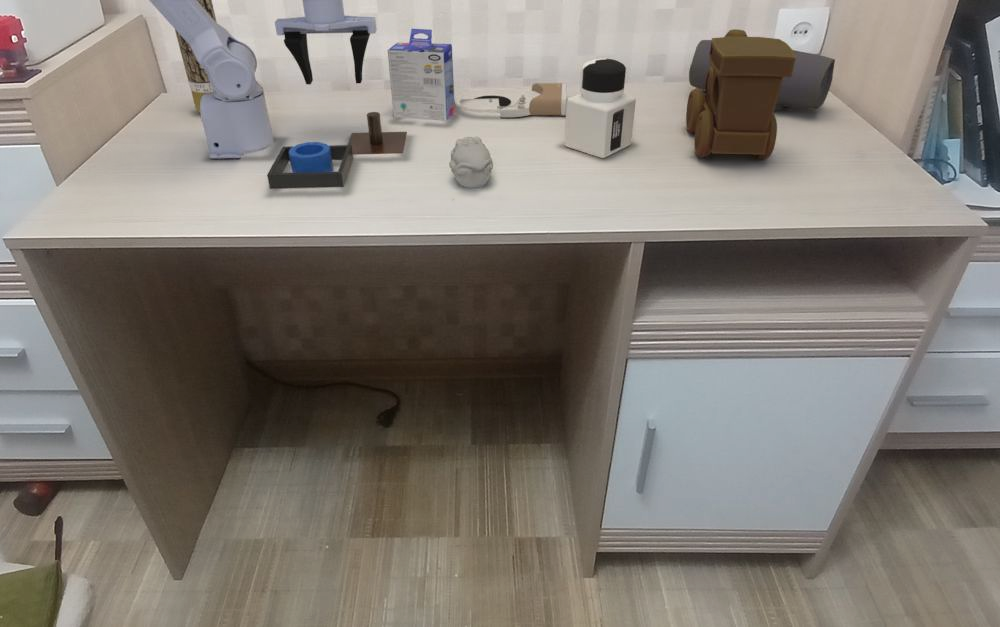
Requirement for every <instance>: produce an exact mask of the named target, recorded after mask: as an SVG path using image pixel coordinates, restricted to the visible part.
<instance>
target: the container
mask: <svg viewBox="0 0 1000 627" xmlns="http://www.w3.org/2000/svg"><path fill="white" fill-rule="evenodd" d="M626 74H627V67H626V66H625V64H623V63H622V62H620V61H619V60H616V59H612V58H594V59H591V60H587V61H585V62H584V63H583V65H582V66H581V74H580V93H578V94H576V95H573V96H571V97H568V98H566V116H565V129H564V130H565V131H564V146H565V147H566V148H570V149H572V150H576V151H578V152H581V153H585V154H587V155H591V156H594V157H597V158H599V159H605V158H607V157H609V156H611V155H613V154H615V153H617V152H620V151H621V150H624V149H625V148H627V147H630V145H632V141H633V140H632V139H633V131H634V122H635V121H634V120H635V112H636V102H637V98H636V96H633V95H628V94H624V93H625V83H626Z"/></svg>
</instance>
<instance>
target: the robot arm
mask: <svg viewBox="0 0 1000 627" xmlns="http://www.w3.org/2000/svg"><path fill="white" fill-rule="evenodd" d="M148 1H149V2H150V3H151V4H152V6H153V7H154V8H155V9H156V10H157V11H158V12H159V14H161V15H162V17H163V18H164V19H165V20H166V21H167V22H168V24H170V25H171V27H172V28H173V29H174V31H175V30H176V31H177V32H178V33H179V34H180V35H181V36H182V37H183V38H184V39H185V41H186V42H187V43H188V44H189V45H190V47H191V48H192V50H193V53H194V55H195V57H196V59H197V61H198V62H199V64H200V65H201V66H202V67H203V68H204V69H205V71H206V72H207V74H208V77H209V80H210V83H211V85H212V87H213V88H214V92H213V93H212V94H205V95H203V96H202V98H201V101H200V113H199V114H200V119H201V123H202V127H203V131H204V134H205V139H206V142H207V146H208V150H209V155H208V157H209V159H212V160H214V159H215V160H216V159H241V158H242V157H243V156H244V154H245V153H253V152H258V151H263V150H265V149H267V148H270V147H271V146H272V145H273V144H274V142H275V140H274V136H273V131H272V125H271V121H270V116H269V111H268V105H267V100H266V96H265V92H264V87H263V85H262V84H260V83H259V82H258V80H256V72H257V66H258V60H257V57H256V55H255V54H256V53H254V51H253V49H252V48H251V47H250V46H249V45H247V43H245V42H243V41H240V40H238V39H236V38H235V36H233V35H232V34H231V33H230V32H229V31H228V29H226V28H225V27H223V25H221V24H220V23H218V22H217V21H216V22H217V23H216V22H215V21H214V20H213V19H212V17H211V16H210V15H209V14H208V13H207V12H206V10H205V9H204V8H203V7H202V6H201V5H200V3H199V2H198V1H197V0H148ZM301 1H302V7H303V13H304V16H297V17H288V18H287V17H286V18H277V19H275V21H274V27H275V33H276V36H284V39H283V44H284V45H285V47H286V48H287V50H288V51H289V52H290V54H291V55H292V58H294V61H295V62H296V64H297V65H298V67H299V69H300V72H301V74H302V77H303V78H304V83H305V85H311V84H312V83H313V82H314V79H313V78H314V77H313V72H312V71H313V70H312V67H311V66H312V65H311V61H310V57H309V56H310V55H309V48H308V47H309V46H308V34H310V35H311V34H312V35H313V34H314V35H315V34H351V36H350V37H349V42H350V47H351V52H352V59H353V66H354V78H355V84H362V82H363V67H364V66H363V65H364V59H365V54H366V50H367V46H368V42H369V39H370V36H371V35H372V34H376V33H377V30H378V29H377V21H376V17H375V16H360V15H345V9H344V8H345V7H344V2H343V0H301Z"/></svg>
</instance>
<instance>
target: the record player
mask: <svg viewBox="0 0 1000 627" xmlns="http://www.w3.org/2000/svg"><path fill="white" fill-rule="evenodd" d="M488 99H489V100H488ZM493 99H495V100H496V99H497V100H498V106H497V107H496V108H497V109H484V108H483V109H482V108H480V109H479V108H470V107H465V106H463V105H462V104H461V100H488V102H489V103H492V102H493ZM454 102H455V107H457V108H458V109H461V110H463V111H466V112H472V113H482V114H484V113H487V114H499V116H500V118H522V117H527V116H565V117H566V105H567V83H562V82H561V83H560V82H559V83H557V82H553V83H552V82H550V83H549V82H546V83H545V82H536V83H533V84H532V86H531V89H528V88H517V87H485V88H483V87H481V88H474V89H473V88H472V89H468V90H465V91H462V92H460V93H458V94H457V95H456V96H454Z"/></svg>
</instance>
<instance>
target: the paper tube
mask: <svg viewBox="0 0 1000 627" xmlns="http://www.w3.org/2000/svg"><path fill="white" fill-rule="evenodd" d="M197 1H198V2H199V3H200V5H201V6H202V7H203V8H204V9H205V10H206V12H207V13H208V14H209V15H210V16H211V17H212V19H213V20H214V21H215V22H216V23H218V22H217V18H216V13H215V9H214V5H213V0H197ZM174 31H175V35H176V40H177V43H178V47H179V51H180V55H181V58H182V62H183V66H184V70H185V74H186V77H187V81H188V85H189V88H190V92H191V96H192V99H193V103H194V108H195V109H196V111H197V113H199V114H200V101H201V98H202V96H203V95H205V94H212V93H213V92H214V88H213V87H212V85H211V83H210V80H209V77H208V74H207V72H206V71H205V69H204V68H203V67H202V66H201V65H200V64H199V62H198V61H197V59H196V57H195V55H194V53H193V50H192V48H191V47H190V45H189V44H188V43H187V42H186V41H185V39H184V38H183V37H182V36H181V35H180V34H179V33H178V32H177V31H176V30H175V29H174Z"/></svg>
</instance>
